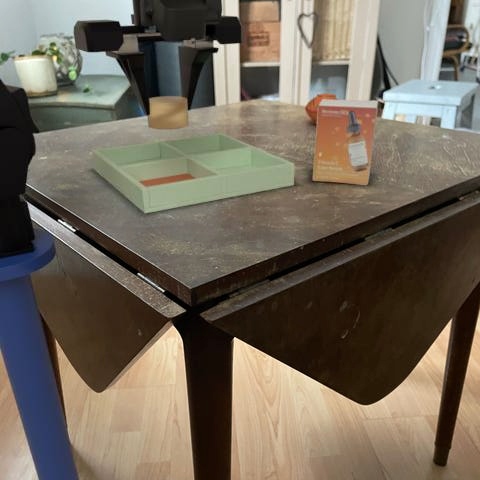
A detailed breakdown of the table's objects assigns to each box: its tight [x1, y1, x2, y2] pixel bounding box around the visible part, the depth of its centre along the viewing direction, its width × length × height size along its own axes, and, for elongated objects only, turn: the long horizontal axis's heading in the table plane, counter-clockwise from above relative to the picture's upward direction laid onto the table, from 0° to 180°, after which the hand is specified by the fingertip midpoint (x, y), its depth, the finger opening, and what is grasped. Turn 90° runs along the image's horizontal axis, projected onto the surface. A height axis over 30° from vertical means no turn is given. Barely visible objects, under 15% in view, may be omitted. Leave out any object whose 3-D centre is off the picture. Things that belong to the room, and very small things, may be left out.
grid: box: [91, 132, 296, 214], centre depth 80 cm, size 22×22×3 cm
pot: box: [304, 93, 339, 125], centre depth 108 cm, size 8×8×7 cm
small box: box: [312, 99, 379, 186], centre depth 76 cm, size 8×6×10 cm
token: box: [146, 95, 190, 131], centre depth 66 cm, size 5×5×3 cm
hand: (167, 112), depth 66 cm, fingers closed on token, 5 cm apart
